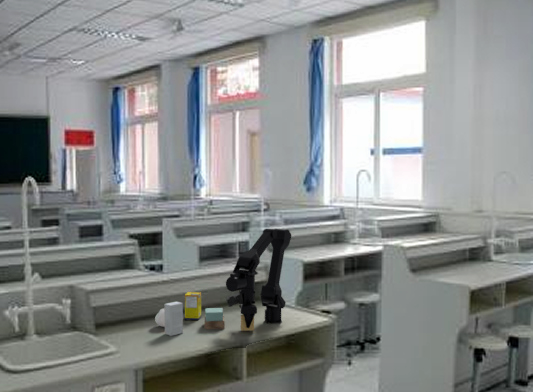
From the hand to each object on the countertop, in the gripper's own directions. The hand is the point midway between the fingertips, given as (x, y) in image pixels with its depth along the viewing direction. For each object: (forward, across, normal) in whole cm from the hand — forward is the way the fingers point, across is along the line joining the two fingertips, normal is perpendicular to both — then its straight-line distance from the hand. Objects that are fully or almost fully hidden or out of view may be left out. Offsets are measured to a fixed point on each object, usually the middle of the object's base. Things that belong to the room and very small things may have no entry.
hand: (247, 325), depth 234 cm
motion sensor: (+2, -9, -33) cm, 34 cm away
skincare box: (+2, +1, -29) cm, 29 cm away
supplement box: (+2, -21, -22) cm, 31 cm away
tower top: (-1, -8, -13) cm, 15 cm away
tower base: (+2, -8, -13) cm, 16 cm away
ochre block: (+1, 0, 0) cm, 1 cm away
